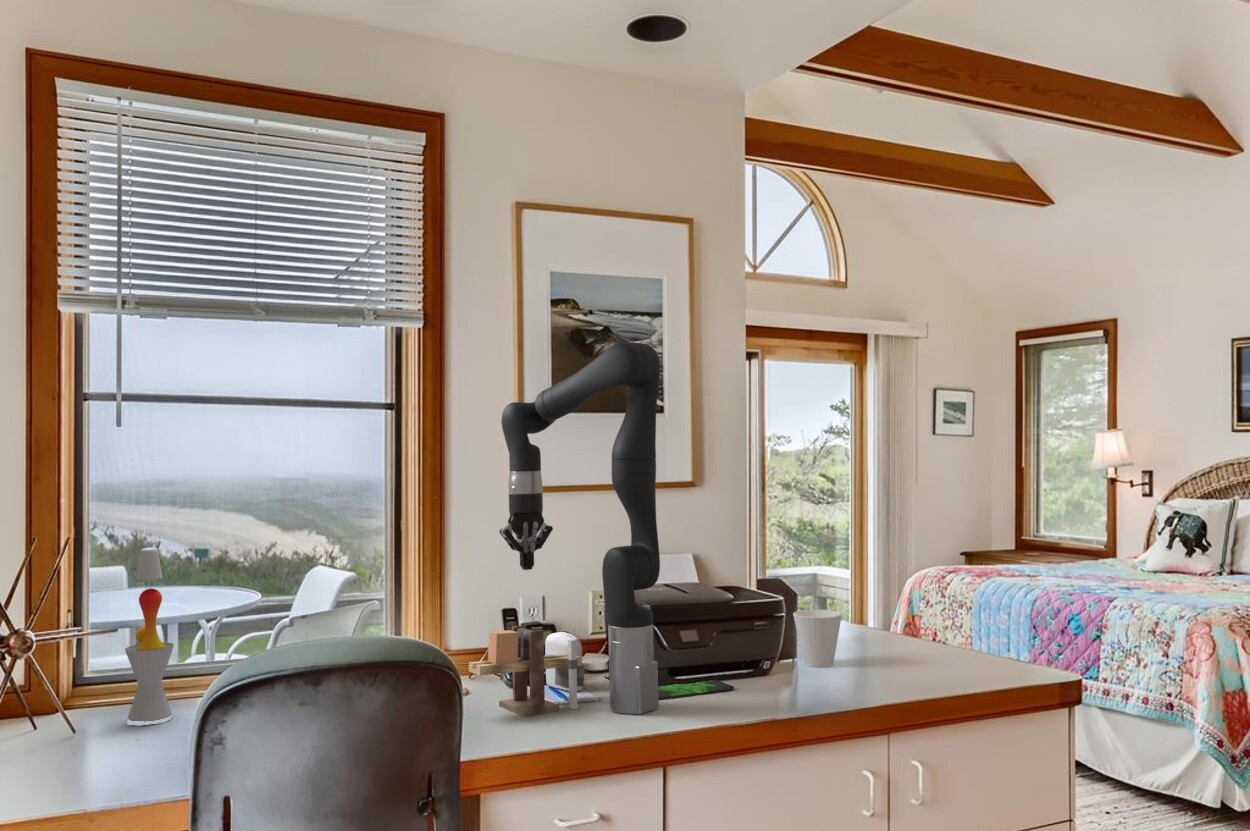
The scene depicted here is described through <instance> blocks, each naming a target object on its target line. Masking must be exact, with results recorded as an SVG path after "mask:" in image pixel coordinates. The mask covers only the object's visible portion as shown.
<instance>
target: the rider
mask: <svg viewBox="0 0 1250 831" xmlns="http://www.w3.org/2000/svg"><path fill="white" fill-rule="evenodd" d="M518 634H519V632H515V631H512V629H508V630H493V631H492V630H491V631H489V632H488V647H487V648H488V650H487V651H488V652H487V653H488V656H487V661H488V662H491V663H494V664H502V663H513V662H518Z"/></svg>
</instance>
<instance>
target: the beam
mask: <svg viewBox="0 0 1250 831" xmlns="http://www.w3.org/2000/svg"><path fill="white" fill-rule="evenodd" d="M529 631H534V630H532V629H530V628H529V629H528V628H527V627H526V628H522V627H521V628H518V629H517V631H516V632H519V634H518V639H521V658H518V662H513V663H502V664H494V663H491V662H488V660H481V661H480V660H479V661H468V673H471V674H475V675H477V676H489V675H498V674H499V675H500V674H508V673H510V674H511V673H513V672H521V671H527V672H529ZM567 659H568V653H567V654H556V655H545V654H544V670H546V669H551V668H555V684H556V685H559V686H562V687H565V688H569V668H567ZM576 659H577V687H580V686H583V687H584V684H585V682H584V681H585V664H583V656H582V657H580V656H576Z"/></svg>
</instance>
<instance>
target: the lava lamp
mask: <svg viewBox="0 0 1250 831" xmlns="http://www.w3.org/2000/svg"><path fill="white" fill-rule="evenodd" d="M162 572H163V571H162V565H161V562H160V555H159V550H158V548H156V547H145V548H142V549H141V550H140V554H139V560H138V565H137V572H136V578H135V580H136V581H153V580H159V579H161V580H162V579H163V573H162ZM162 602H163V595H162V593H161V591H159V590H158V589H156V588H147V589H144V590H143V591H142V592H141V593H140V594H139V597H138V604H139V606H140V608H141V611H142V612H141V613H142V615H143V620H144V626H142V627H139V628H138V629H137V631H136V632H135V640H136V641H137V642H138V644H135V645H129V646H127V647H125V648H124V650H125V653H126V656H127V659H128V661H129V664H130V666H131V667H130V668H131V669H132V672H133V674H134V678H135V680H136V683H137V684H138V685H137V687H136V690H135V694H134V697H133V699H132V704H131V707H130V709H129V713H128V716H127V719H129V720H131V721H144V722H145V721H155V720H160V719H164V718H167V717H169V716H171V715H173V713H172V709H171V707H170V704H169V701H168V698H167V695H166V691H165V688H164V687H163V684H162V681H163V678H164V675H165V673H166V669H167V667H168V664H169V661H170V658H171V655H172V653H173V650H174V647H175V644H174V643H172V642H163V641H162V640H161V639H160V637H159V635H158V634H159V633H158V631H157V617H158V613H159V610H160V607H161V604H162Z"/></svg>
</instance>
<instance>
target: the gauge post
mask: <svg viewBox="0 0 1250 831" xmlns="http://www.w3.org/2000/svg"><path fill="white" fill-rule="evenodd" d="M567 668H569V691H568V708H569V709H570V708H571V710H575V709H574V708H577V709H578V691H577V659H576V640H574V639H571V640H568V659H567Z"/></svg>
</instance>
